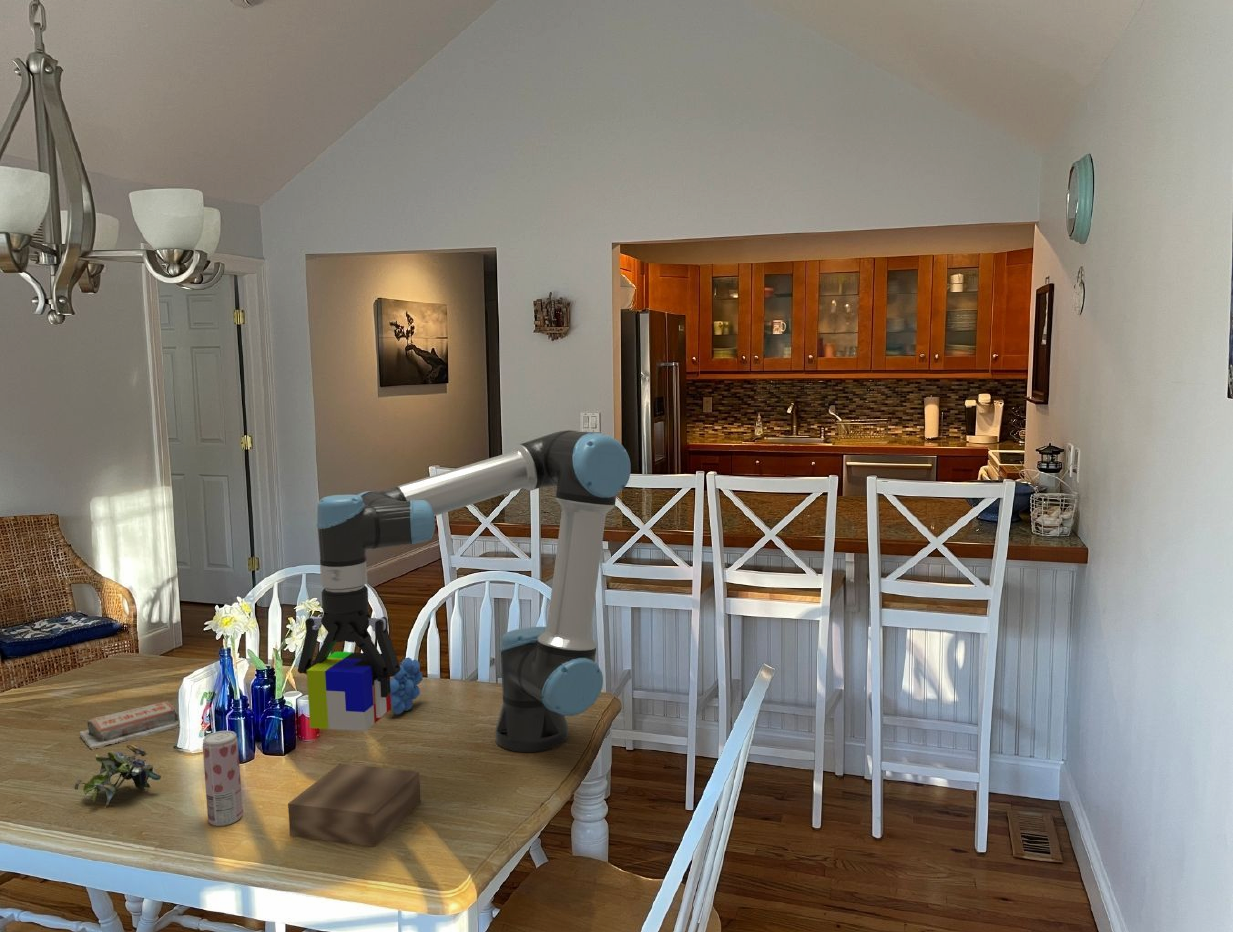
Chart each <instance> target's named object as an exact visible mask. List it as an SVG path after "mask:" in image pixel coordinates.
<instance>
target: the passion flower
mask: <svg viewBox="0 0 1233 932" xmlns="http://www.w3.org/2000/svg"><path fill="white" fill-rule="evenodd" d="M126 748H127V749H129V750H131V751H132V752H133V753H134V754H133V755H132V756H130V755H129V756H127V755H126V754H124V753H123V752H120V751H116V750H109V751H108V752H107V754H106V756H107V757H103V756H99V755H98V754H95V755H94V757H95V760H96V761H97V762H99V763H101V766H100V771H99V774H95V775H93V776H92V777H91V779H90V780H88V781H87V782H82V779H77V780H76V782H75V785H74V786H73V787H74V790H76V791H77V790H79V785H80V784H81V785H84V786H83V793H84V795H87V794H88V793H89V792H91V791H93V792H94V794H93V795H92V801H93V803H96V799H97V797H98V794H99V793H100V792H101V791H102V790H103V789H104V790H105V796H106V804H105V806H104V807H106V808H107V807H108V805H109V804H110V801H111V799H112V798H113V797H115V794H117V793H118V789H119V787H120V786H122V784H123V783H124V781H125V780H127V781H129V780H132V781H133V783H134V785H135V788H137V789H138V790H143V789H145V788H148V789H149V788H151V785H150V783H149V782H148V780H149V779H152V780H154V781H159V780H161V778H162V775H160V774H157V773H155V770H154V766H153V765H152V764H146V763H145V762H147V759H140V758H137V756H138V755H140V756H141V757H145V756H147V755H148V754H149V753H148V752H147V753H146V751H145V750H143V749H141V747H138V746H135V745H133V744H130V745H129V744H127V745H126ZM136 758H137V759H136ZM105 772H106V773H105ZM102 773H105V774H104V775H103V774H102ZM117 774H119V777H118V779H117V781H116V782H115V783H112V782H111V777H113V776H114V775H117ZM120 778H122V779H121V781H120V782H119V780H120ZM106 785H107V786H110V787H107V786H106Z"/></svg>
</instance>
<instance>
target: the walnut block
mask: <svg viewBox="0 0 1233 932" xmlns="http://www.w3.org/2000/svg"><path fill="white" fill-rule="evenodd" d="M420 782H421V781H420V771H417V770H416V771H415V770H405V769H399V768H398V769H397V768H387V767H386V768H385V767H377V766H368V765H367V766H366V765H358V764H357V765H356V764H349V763H339V764H337V765H335V767H333V768H332V769H331V770H330V771H328V772H326V773H325V774H324V775H323V776H322V777H320V778H319V779H318V780H317V781H315V782H314V783H313V784H311V785H310V786H309V787H307V788H306V789H305V790H304V791H302V792H301V793H299V795H297V796H295V797H294V798H293V799H292V800H291V801H289V802H288V803H287V808H288V809H287V810H288V811H287V812H288V823H289V824H288V825H289V836H292V837H293V836H294V837H299V838H306V839H307V838H308V839H315V840H322V841H330V842H337V843H338V842H339V843H346V844H353V845H361V846H369V847H375V848H376V847H377V846H378V845H379V844H380V843H381V842H382V841H383V840H384V839H385V838H386V837H387V836H388V835H389V834H390V833H391V832H392V831H393V830H394V829H395V828H396V827H397V826H398V825H399V824H400V823H401V822H402V821H403V820H404V819H405V818H406V817H407V816H408V815H409V814H410V813H411V812H413V810H414V809H415V808H416V807H417V806H419V804H421V801H422V800H421V783H420Z"/></svg>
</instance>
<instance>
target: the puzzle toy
mask: <svg viewBox="0 0 1233 932" xmlns="http://www.w3.org/2000/svg"><path fill="white" fill-rule="evenodd" d="M380 655H381V656H382V653H380ZM382 658H383V656H382ZM377 678H378V676H377V674H376V673H375V671H374V667H373V665H370V663H369V661H368V660H367V658H366V656H365V655H364V653H363V652H352V651H351V652H349V651H334V652H333V653H330V654H329V656H328V658H327V659H326V660H325V661H323V662H322V663H317V664H316V665H314V666H313V667H311V668H309V669H308V670H307V675H306V679H307V681H306V682H307V696H308V697H307V699H308V713H309V714H308V715H309V716H308V717H309V728H310V729H320V730H334V731H335V730H336V731H349V732H351V731H353V732H367V731H369V729H370V728H371V727H372V726H374V725H375V724H377V722H379V720H381V719H382V718H383V717H385V715H386V714H387V713H388V712H390V711H391V710H392V708H391V692H390V695H389V696H388V697H386V706H387V712H386V713H385V714H384V715H383V716H382V717H381V718H376V702H375V683H374V681H375V680H376V679H377Z"/></svg>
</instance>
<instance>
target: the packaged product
mask: <svg viewBox="0 0 1233 932" xmlns="http://www.w3.org/2000/svg"><path fill="white" fill-rule="evenodd" d="M178 721H179V714H178V712H177V709H176V708H175V707H174V705H173V704H171V702H170V701H167V700H165V701H160V702H157V703H152V704H149V705H143V706H139V707H135V708H130V709H127V710H123V711H119V712H114V713H110V714H105V715H103V716H98V717H97V716H96V717H94V718H91V719H89V720H88V721H87V727H88V729H85V730H81V731H79V734H80V738H81V739H82V741H83V742H84V741H85V742H84V744H85V745H88V746H89V747H90V748H91V749H94V748H97V747H101V746H104V745H108V744H112V745H116V744H115V743H118V742H121V743H123V742H122V741H125V740H129V741H131V740H130V739H133V740H135V739H134V738H137V737H141V738H145V737H148V735H149V736H151V734H152V735H155V734H159V733H162V732H166V731H170V730H174V729H178V728H179V727H178V726H179V724H178ZM144 736H145V737H144ZM137 739H138V738H137ZM125 742H126V741H125ZM118 744H119V743H118ZM88 746H87V747H88ZM89 747H88V748H89ZM90 748H89V749H90ZM91 749H90V750H91Z"/></svg>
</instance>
